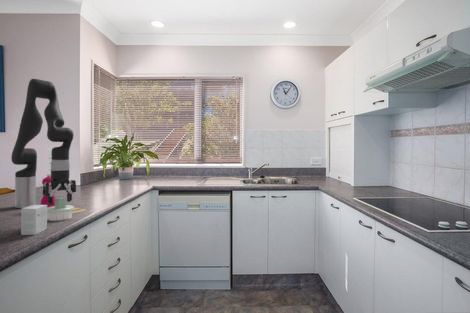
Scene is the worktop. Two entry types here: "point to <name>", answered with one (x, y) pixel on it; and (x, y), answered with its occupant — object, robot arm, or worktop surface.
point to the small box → (33, 219)
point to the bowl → (59, 215)
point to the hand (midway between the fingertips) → (59, 202)
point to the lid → (60, 206)
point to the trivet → (77, 210)
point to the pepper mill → (48, 180)
